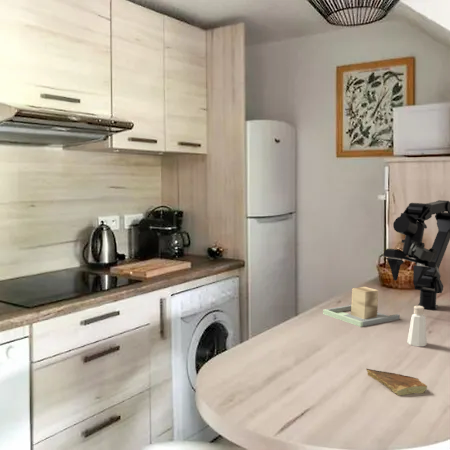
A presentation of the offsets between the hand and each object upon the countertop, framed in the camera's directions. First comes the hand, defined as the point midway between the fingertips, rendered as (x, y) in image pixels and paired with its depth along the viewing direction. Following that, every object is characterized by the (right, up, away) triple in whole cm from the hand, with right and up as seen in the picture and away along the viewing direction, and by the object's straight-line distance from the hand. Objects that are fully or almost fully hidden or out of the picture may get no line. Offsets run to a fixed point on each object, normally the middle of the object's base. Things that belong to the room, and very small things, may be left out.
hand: (405, 282), depth 183 cm
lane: (-16, -12, -5) cm, 21 cm away
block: (-15, -10, -5) cm, 19 cm away
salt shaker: (-6, -15, -29) cm, 33 cm away
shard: (-23, -18, -60) cm, 66 cm away
